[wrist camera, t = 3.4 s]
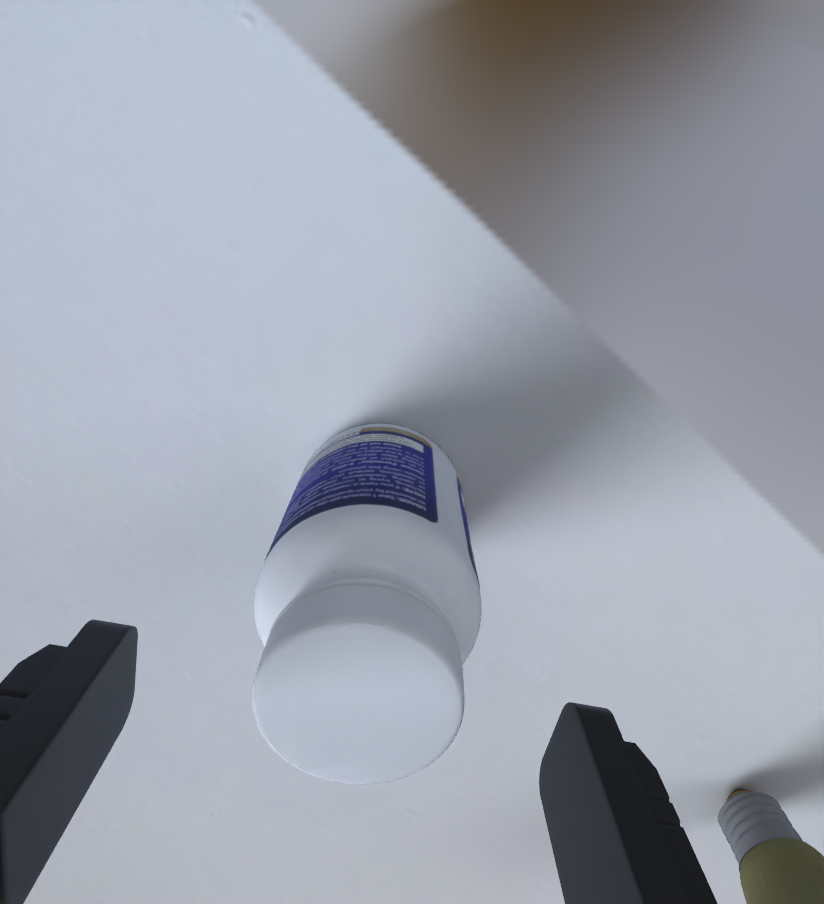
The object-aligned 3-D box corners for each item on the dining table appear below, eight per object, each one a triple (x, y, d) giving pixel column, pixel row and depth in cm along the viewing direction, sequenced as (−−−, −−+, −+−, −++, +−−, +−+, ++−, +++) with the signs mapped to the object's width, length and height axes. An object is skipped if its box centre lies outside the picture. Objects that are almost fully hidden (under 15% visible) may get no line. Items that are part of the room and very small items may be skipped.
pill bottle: (266, 492, 19) (152, 700, 11) (383, 385, 18) (355, 529, 9) (379, 593, 20) (356, 847, 12) (495, 502, 19) (558, 716, 11)
